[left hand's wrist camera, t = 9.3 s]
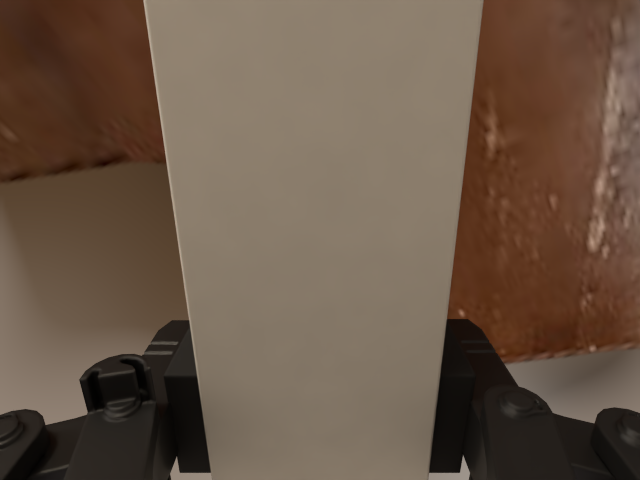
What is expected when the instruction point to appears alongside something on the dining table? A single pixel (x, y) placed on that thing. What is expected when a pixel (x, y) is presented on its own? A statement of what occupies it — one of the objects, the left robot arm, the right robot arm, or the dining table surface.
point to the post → (316, 222)
